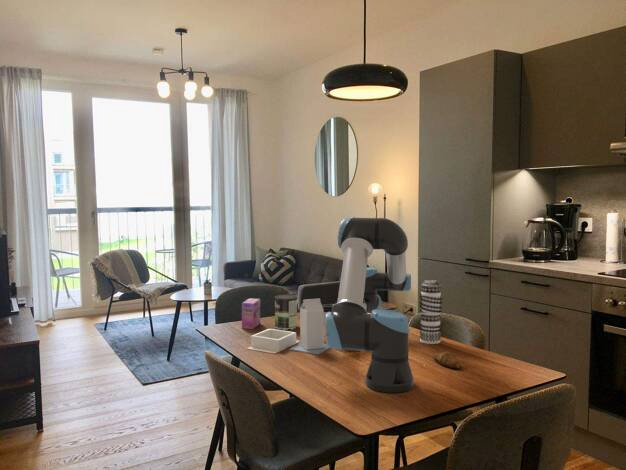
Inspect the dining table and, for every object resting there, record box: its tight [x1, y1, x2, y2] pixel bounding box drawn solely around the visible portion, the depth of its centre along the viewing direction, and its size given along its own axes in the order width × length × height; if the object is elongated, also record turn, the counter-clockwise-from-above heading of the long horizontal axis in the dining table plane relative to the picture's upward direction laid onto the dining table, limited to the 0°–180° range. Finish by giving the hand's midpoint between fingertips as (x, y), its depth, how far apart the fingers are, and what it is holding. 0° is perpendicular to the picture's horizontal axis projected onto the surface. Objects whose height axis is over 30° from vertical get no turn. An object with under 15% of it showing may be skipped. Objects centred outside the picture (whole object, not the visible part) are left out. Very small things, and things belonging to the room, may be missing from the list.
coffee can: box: [274, 293, 298, 331], centre depth 239 cm, size 10×10×14 cm
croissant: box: [432, 351, 461, 370], centre depth 187 cm, size 14×7×5 cm, turn 24°
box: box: [241, 297, 261, 330], centre depth 241 cm, size 10×6×12 cm, turn 168°
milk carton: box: [299, 298, 325, 350], centre depth 206 cm, size 7×7×19 cm
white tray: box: [246, 328, 300, 355], centre depth 211 cm, size 19×13×4 cm
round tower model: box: [419, 279, 443, 345], centre depth 216 cm, size 9×9×25 cm
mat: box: [288, 343, 331, 355], centre depth 207 cm, size 13×13×1 cm
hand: (317, 315), depth 209 cm, fingers open, 13 cm apart
